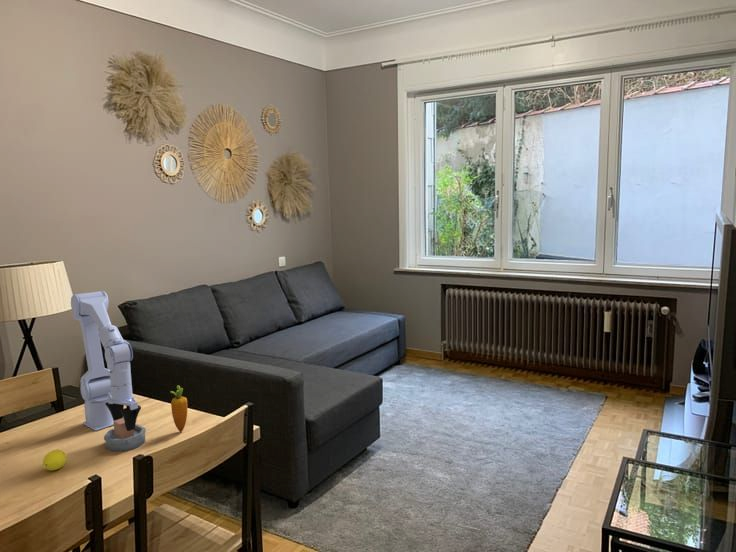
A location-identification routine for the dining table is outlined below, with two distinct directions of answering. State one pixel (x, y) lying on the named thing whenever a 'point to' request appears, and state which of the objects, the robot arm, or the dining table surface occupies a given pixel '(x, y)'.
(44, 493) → the dining table surface
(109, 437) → the grey ashtray
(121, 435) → the block
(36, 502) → the dining table surface
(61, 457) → the lemon
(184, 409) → the carrot
